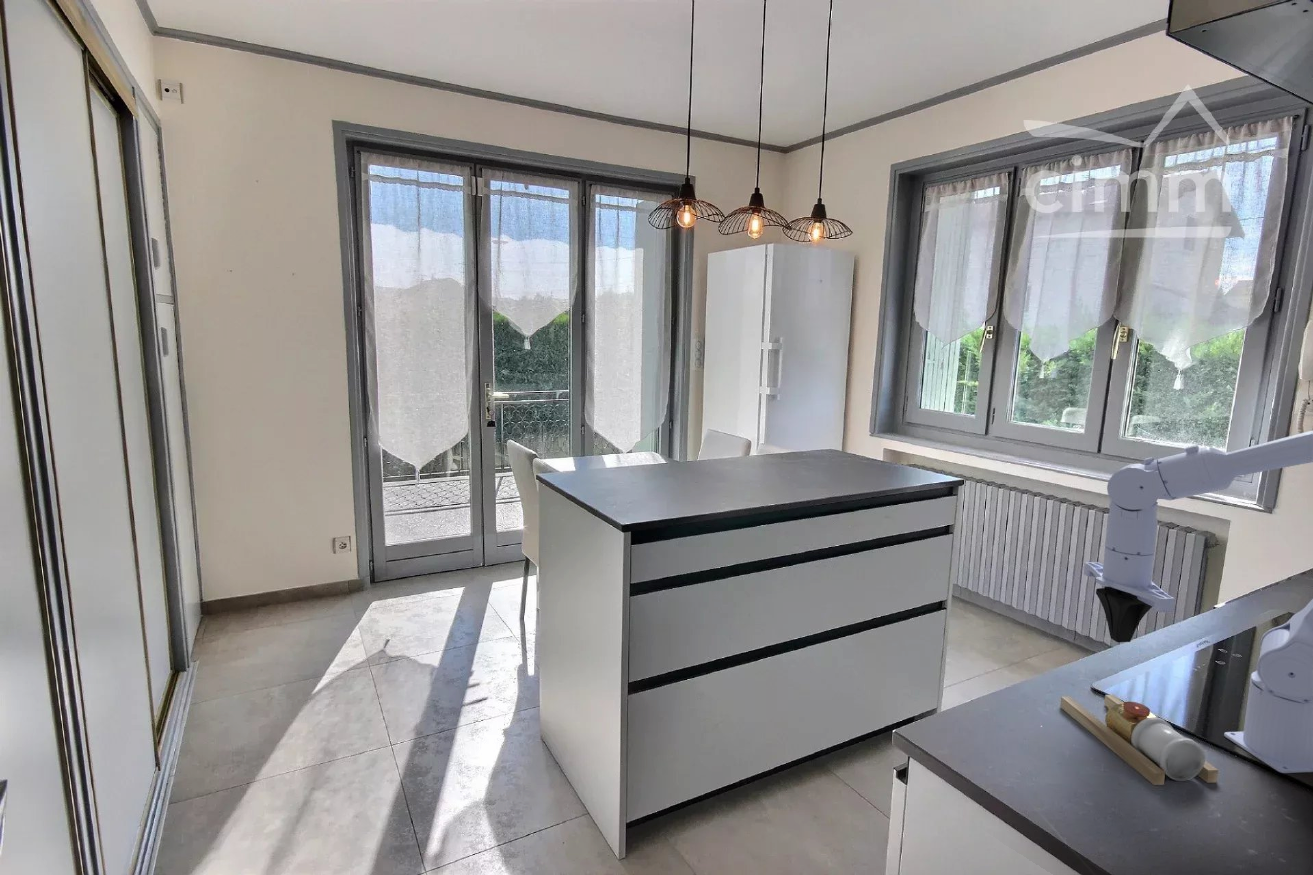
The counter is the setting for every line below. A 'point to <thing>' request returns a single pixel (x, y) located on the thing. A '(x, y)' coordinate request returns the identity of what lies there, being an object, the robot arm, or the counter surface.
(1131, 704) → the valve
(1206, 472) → the robot arm
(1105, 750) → the counter surface
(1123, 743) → the guide rails
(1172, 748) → the coupling
